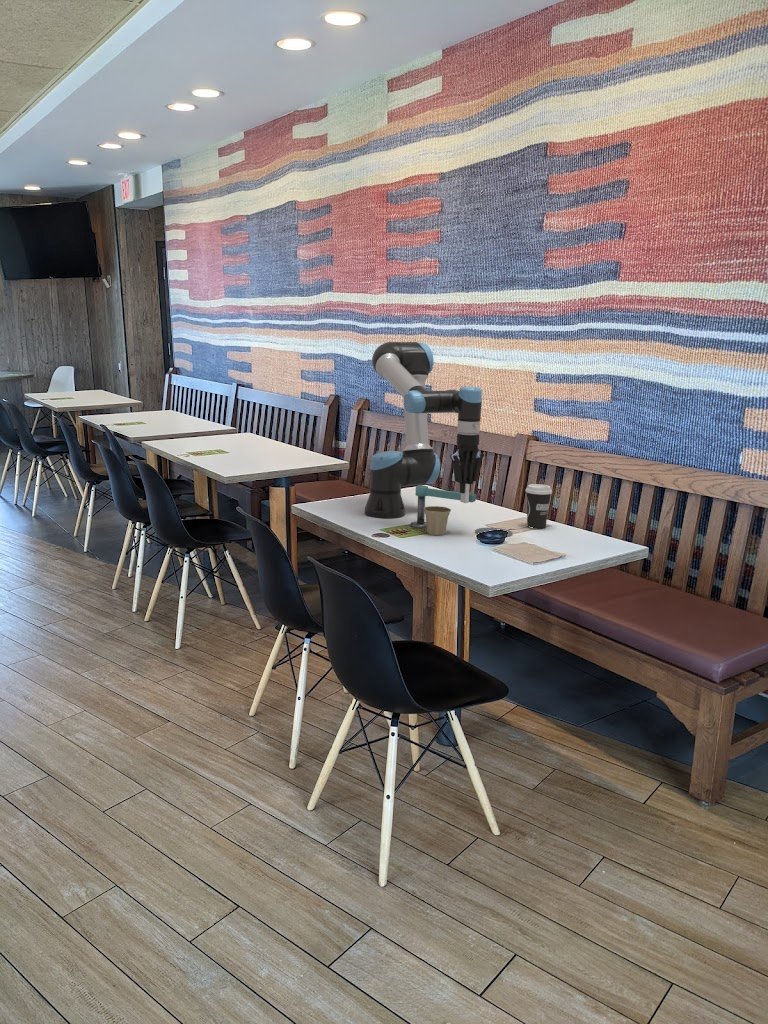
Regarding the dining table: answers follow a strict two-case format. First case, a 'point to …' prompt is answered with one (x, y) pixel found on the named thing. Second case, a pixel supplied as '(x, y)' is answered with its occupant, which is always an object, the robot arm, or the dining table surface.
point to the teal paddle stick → (441, 493)
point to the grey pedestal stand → (420, 514)
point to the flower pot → (436, 519)
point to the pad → (491, 529)
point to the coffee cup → (537, 505)
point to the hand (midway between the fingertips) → (464, 502)
